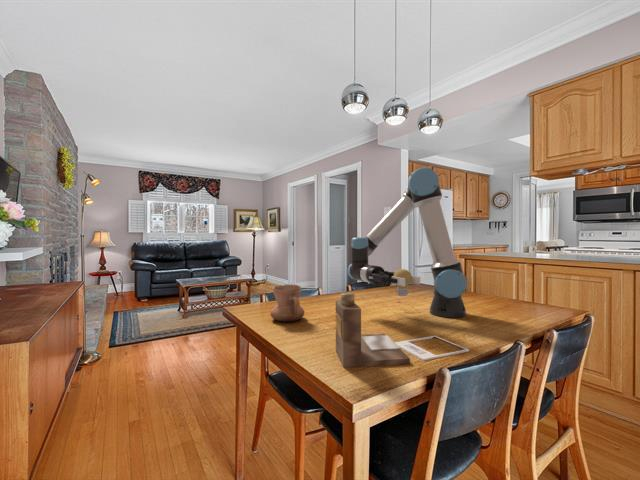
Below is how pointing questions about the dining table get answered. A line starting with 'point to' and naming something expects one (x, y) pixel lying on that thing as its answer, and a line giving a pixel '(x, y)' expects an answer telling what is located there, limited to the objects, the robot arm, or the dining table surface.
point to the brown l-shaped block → (362, 339)
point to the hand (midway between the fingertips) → (412, 281)
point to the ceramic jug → (287, 303)
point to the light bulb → (405, 274)
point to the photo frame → (423, 353)
